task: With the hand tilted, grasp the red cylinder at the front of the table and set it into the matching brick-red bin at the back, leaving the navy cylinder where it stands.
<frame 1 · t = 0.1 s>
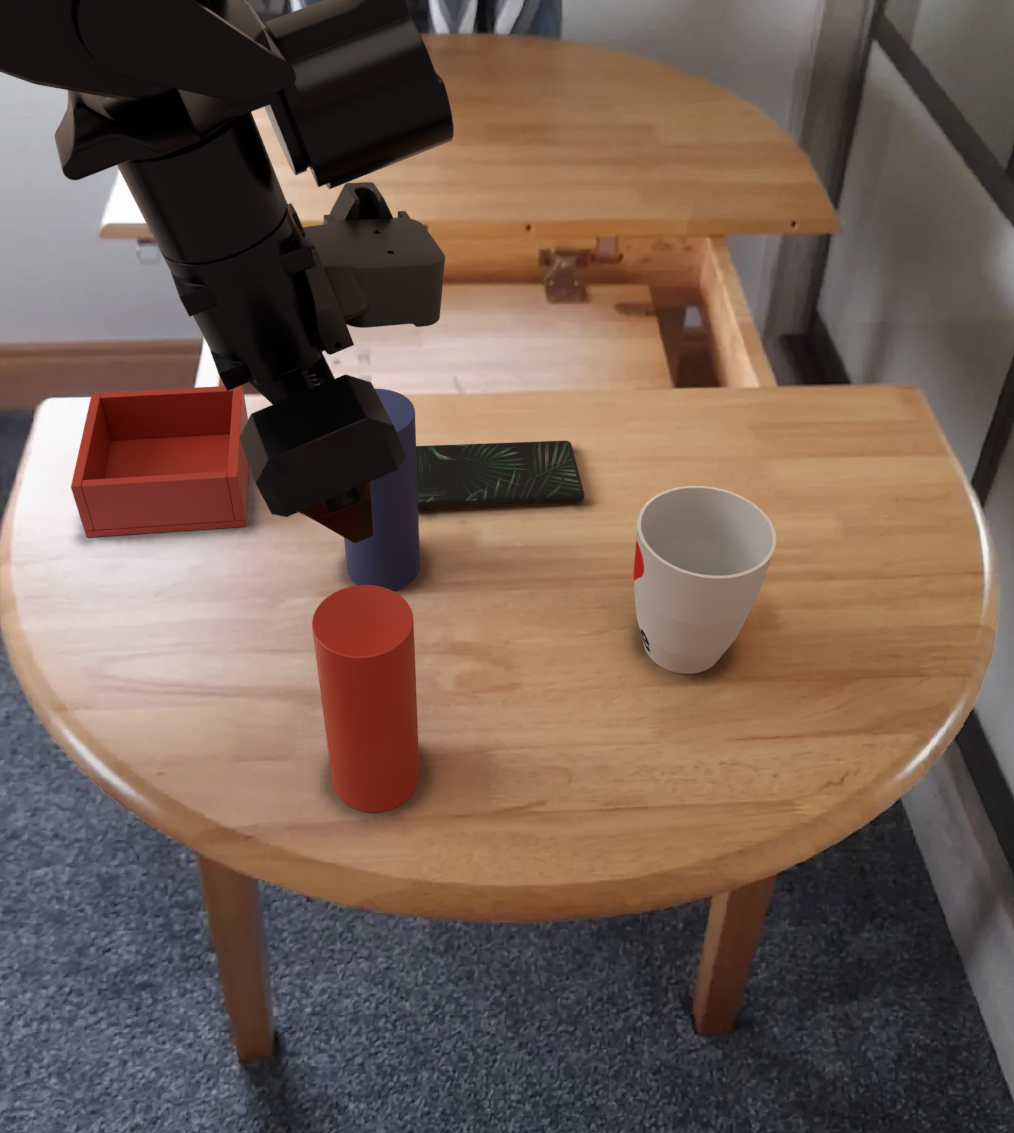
hand: (339, 482, 59), 16 cm above the table, tool pointing down, fingers open, 9 cm apart
navy cylinder: (383, 566, 77), on the table
red cylinder: (376, 775, 64), on the table
smartphone: (478, 481, 84), on the table
red bin: (172, 482, 83), on the table
cup: (682, 646, 72), on the table
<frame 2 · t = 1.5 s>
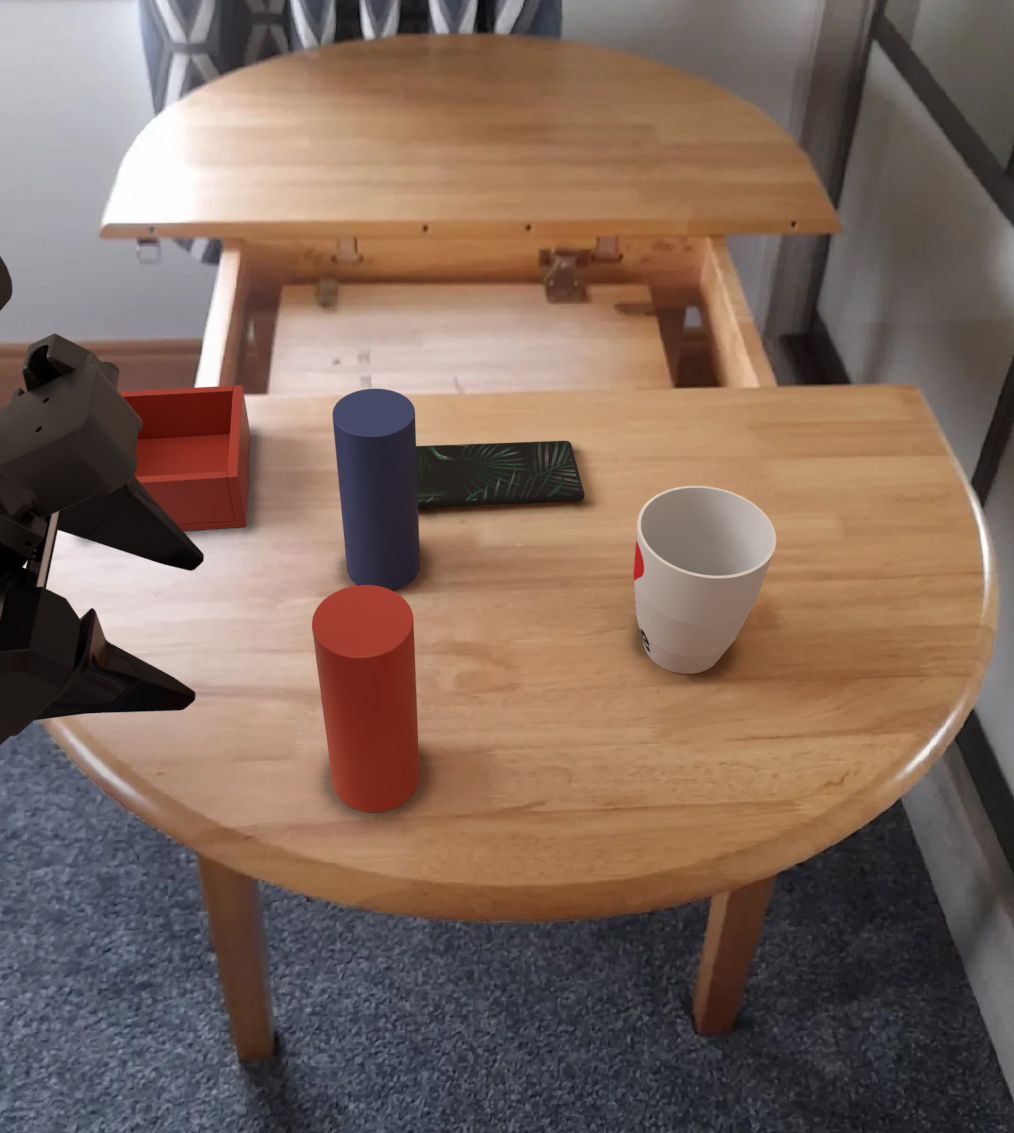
hand: (194, 628, 54), 13 cm above the table, tool tilted 45°, fingers open, 9 cm apart
nothing on the table moved.
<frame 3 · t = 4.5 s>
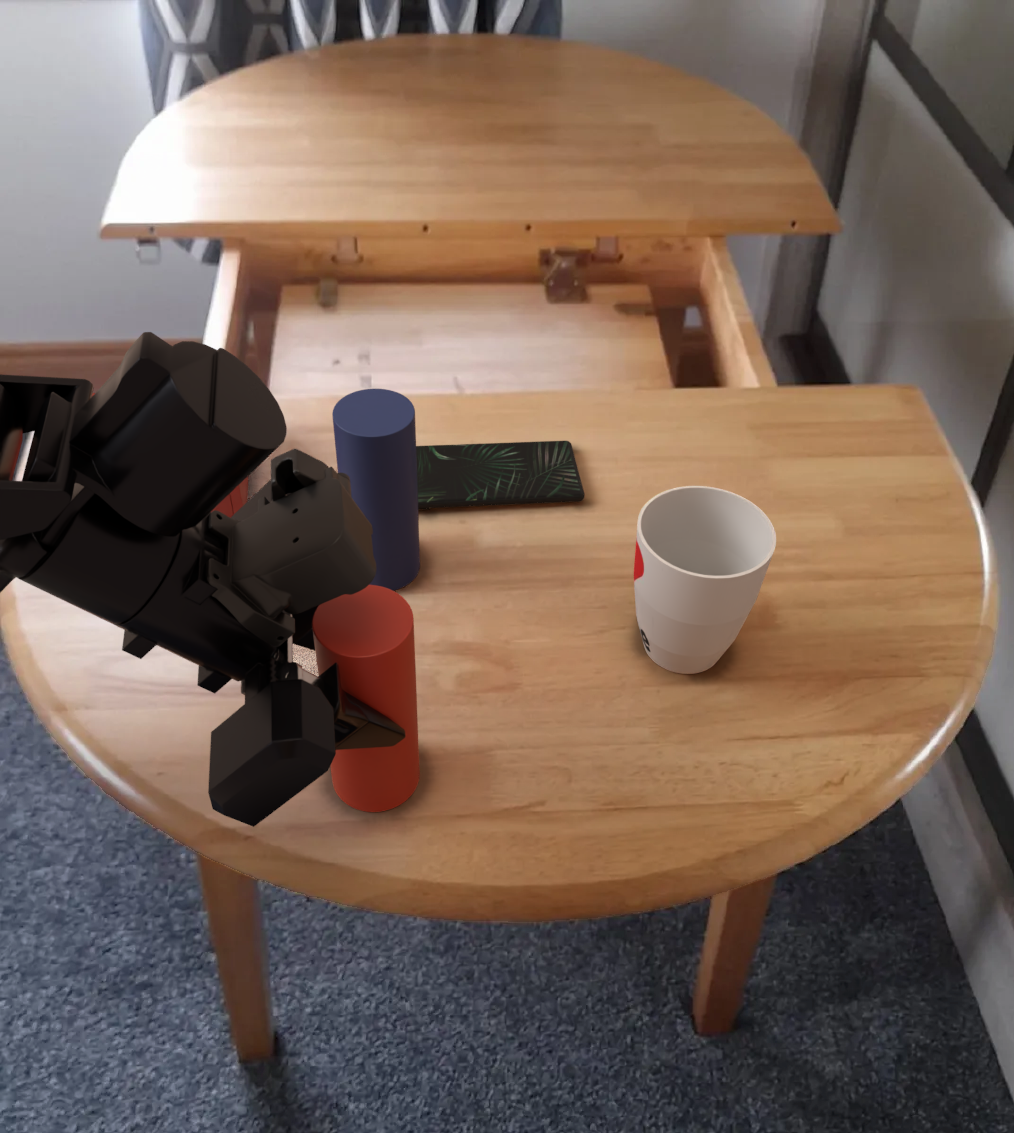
hand: (395, 700, 60), 7 cm above the table, tool tilted 45°, fingers closed on red cylinder, 5 cm apart
red cylinder: (376, 775, 64), on the table, touching gripper
everything else where it was.
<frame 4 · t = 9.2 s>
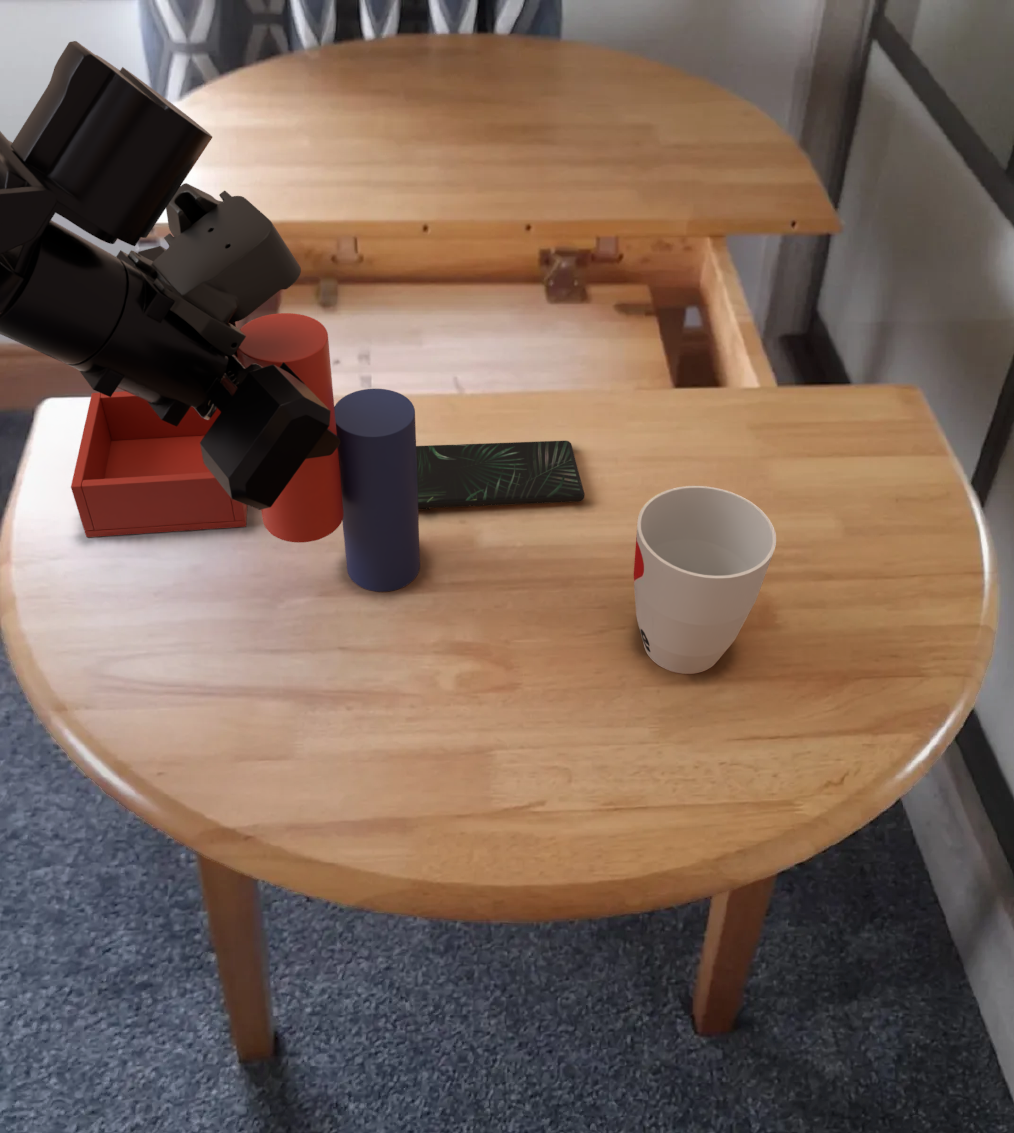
hand: (314, 423, 66), 13 cm above the table, tool tilted 45°, fingers closed on red cylinder, 5 cm apart
red cylinder: (303, 516, 70), point 7 cm above the table, touching gripper
everything else where it was.
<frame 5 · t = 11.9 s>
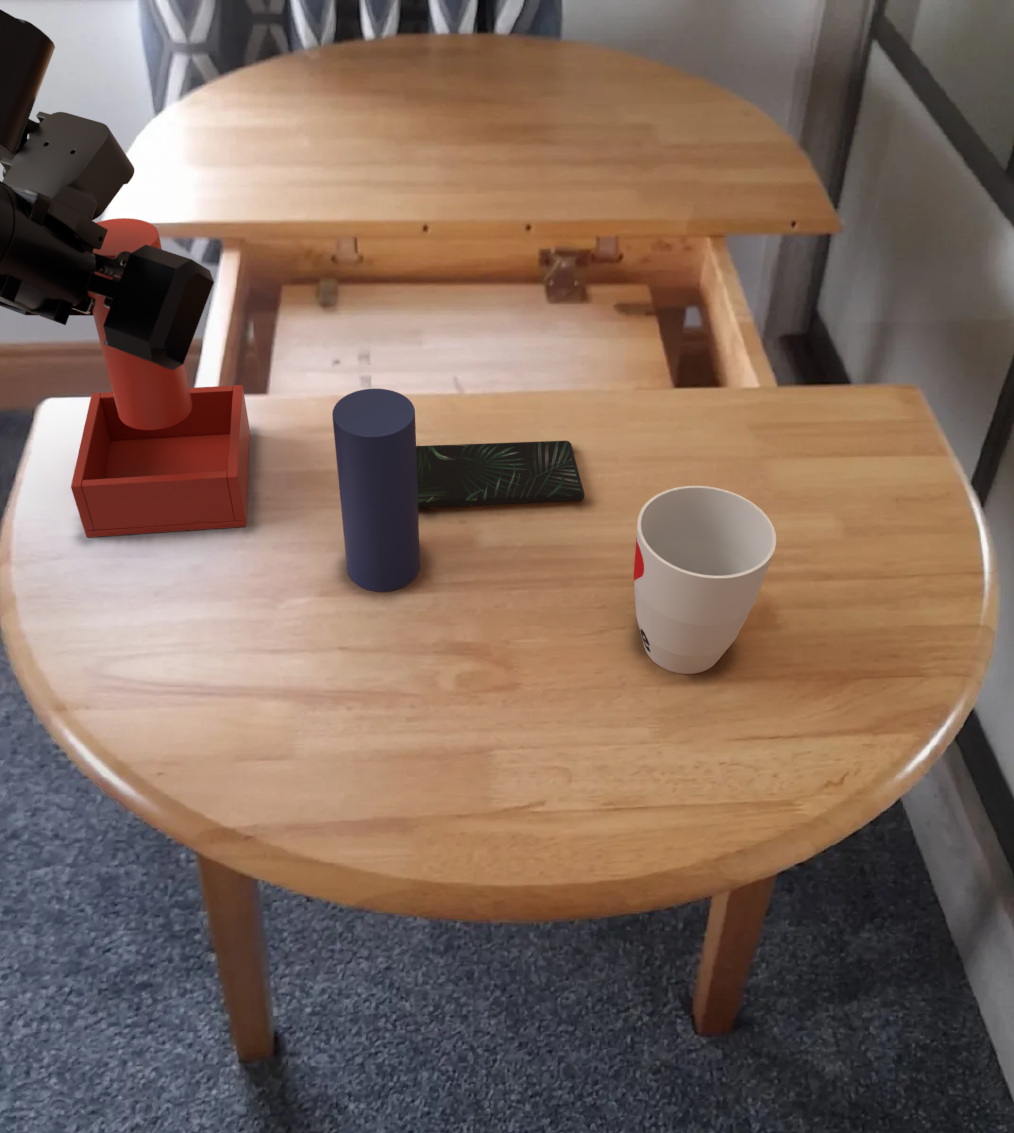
hand: (151, 317, 74), 13 cm above the table, tool tilted 45°, fingers closed on red cylinder, 5 cm apart
red cylinder: (155, 409, 78), point 7 cm above the table, touching gripper
everything else where it was.
when the fingers open (7 cm above the table, at t = 14.0 s): red cylinder stays where it is, resting on red bin.
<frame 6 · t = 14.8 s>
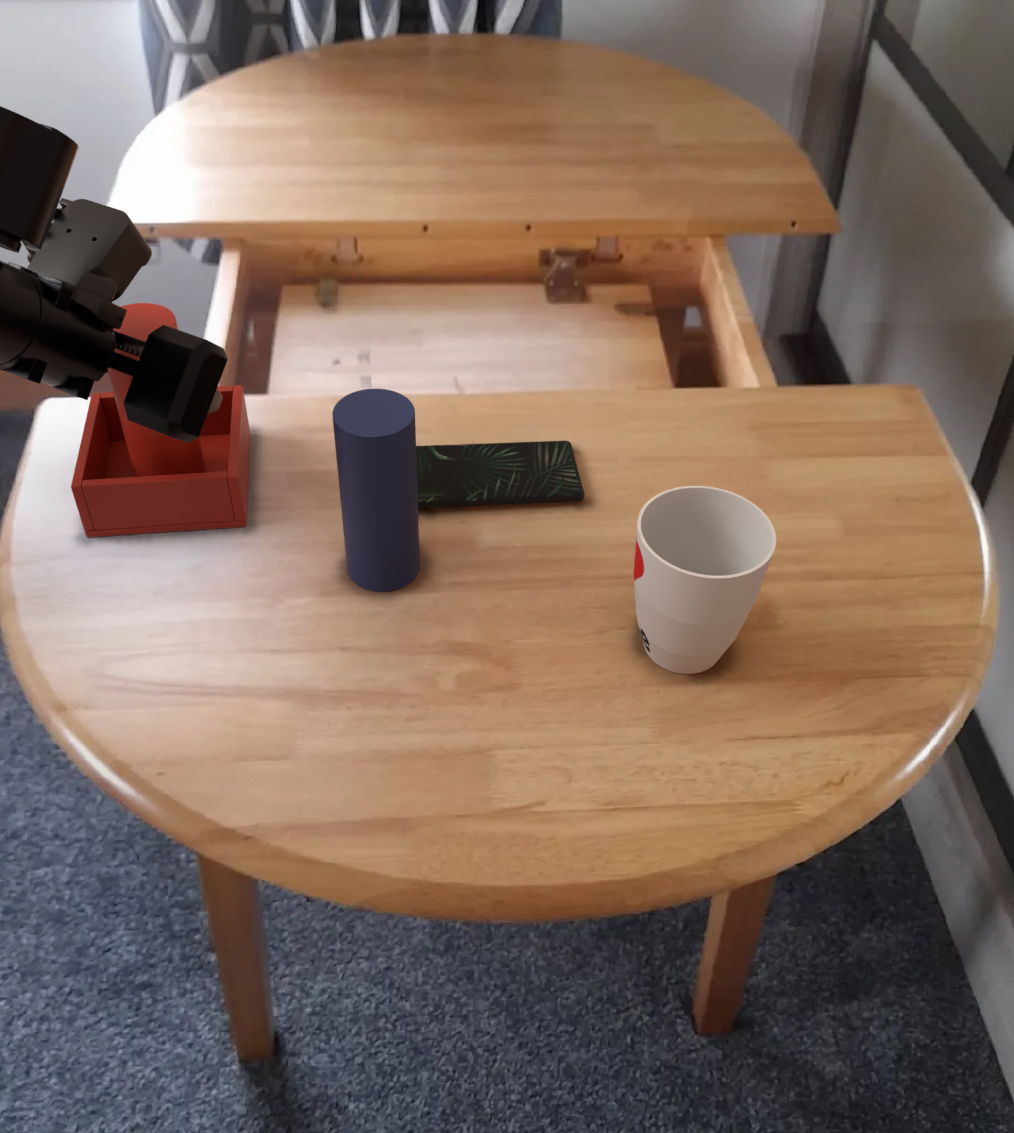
hand: (166, 383, 78), 8 cm above the table, tool tilted 45°, fingers open, 9 cm apart
red cylinder: (171, 476, 82), point 1 cm above the table, touching red bin
everything else where it was.
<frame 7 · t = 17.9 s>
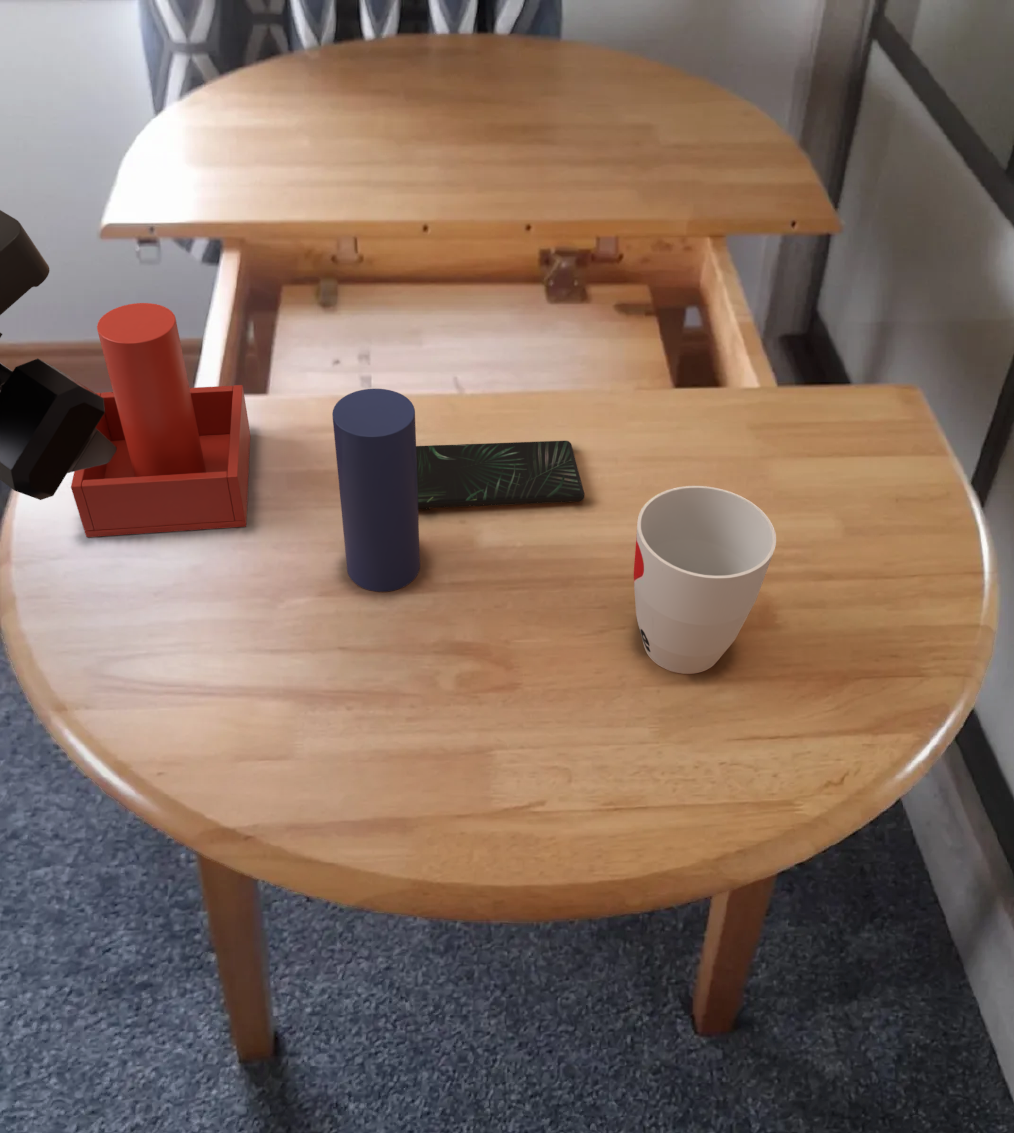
hand: (61, 420, 68), 12 cm above the table, tool tilted 40°, fingers open, 9 cm apart
nothing on the table moved.
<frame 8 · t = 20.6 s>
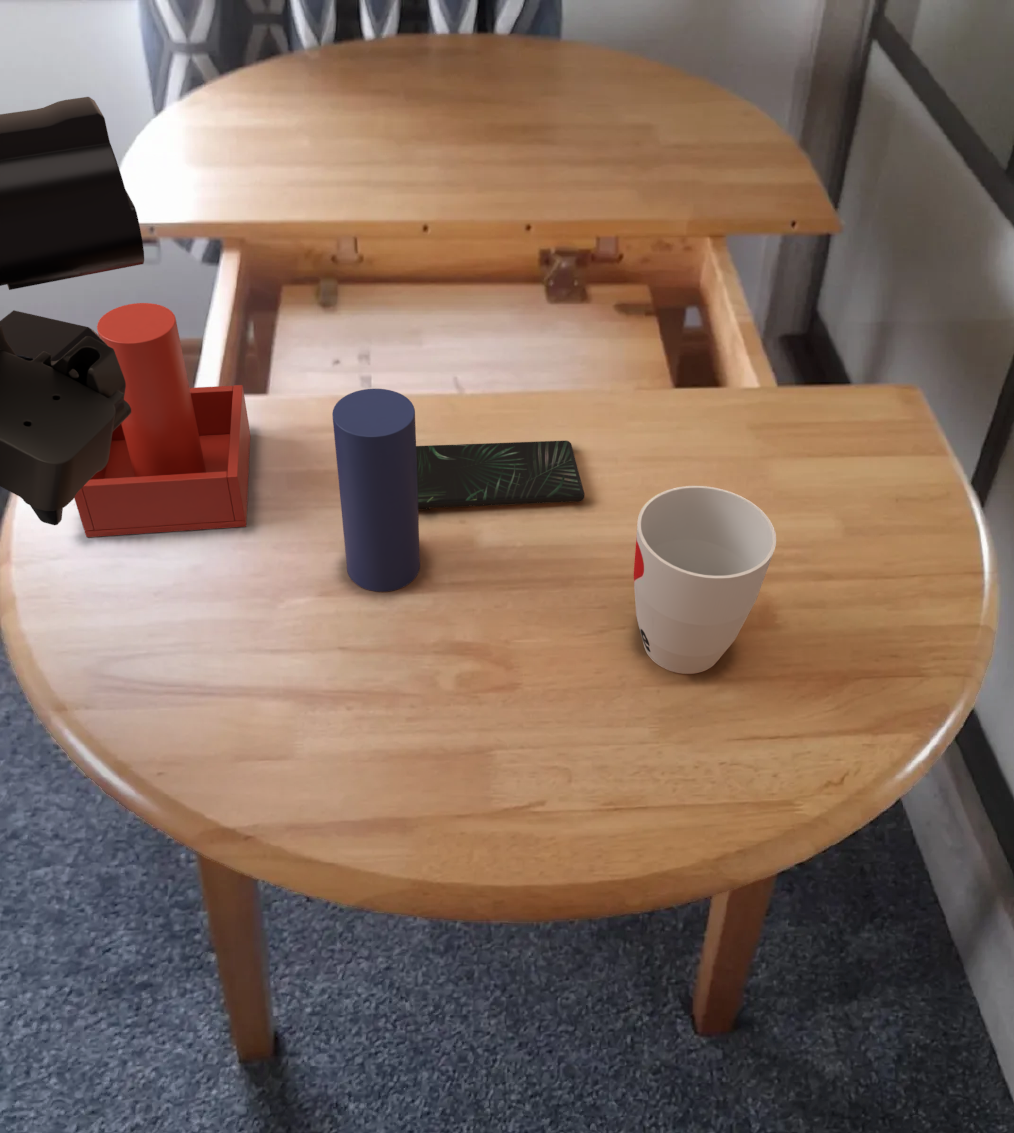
nothing on the table moved.
at the end: red cylinder inside the target area in the red bin (0.0 cm from its centre), point 0.6 cm above the red bin's base; red cylinder tilted 0°; navy cylinder moved 0.0 cm from its start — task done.
